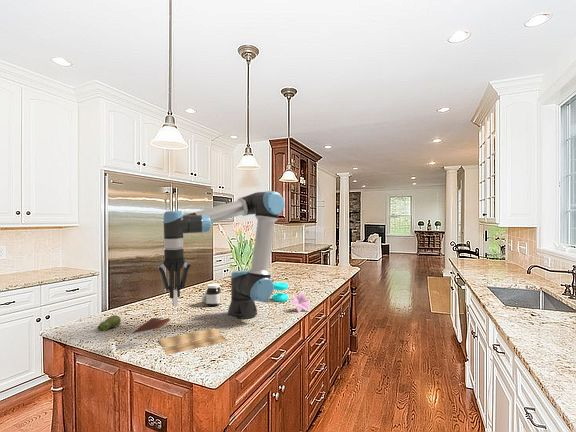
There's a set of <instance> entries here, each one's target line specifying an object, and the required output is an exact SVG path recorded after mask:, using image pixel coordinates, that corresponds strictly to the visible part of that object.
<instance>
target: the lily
mask: <svg viewBox="0 0 576 432" xmlns="http://www.w3.org/2000/svg"><path fill="white" fill-rule="evenodd" d="M292 296H293V298H294V299H292V300H291V301H290V303H289V304H290V305H291V306H296V309H297V312H298V313H299V314H300V312H301V311H302V310H305V311H307V312H311V309H310V306H309V305H308V304H309V303H310V302H311V299H308V298H306V294H305V291H304V290H301V292H300V293H299V294H296V293H294V292H293V293H292Z"/></svg>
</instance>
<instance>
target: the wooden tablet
mask: <svg viewBox="0 0 576 432" xmlns="http://www.w3.org/2000/svg"><path fill="white" fill-rule="evenodd" d="M170 320H171V319H170V317H169V318H163V319H161V318H159V317H153V318H150V319H149V320H147V321H146V322H144V323H143V324H141V325H140V326H139V327H138V328H136V329H135V330H134V331H133V332H132V334H134V333H135V334H136V333H139V332H140V333H141V332H146V331H151V330H157V329H160V328H162V327H163V326H164V325H166V324H167V323H168V322H169V321H170Z"/></svg>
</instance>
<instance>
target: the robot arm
mask: <svg viewBox="0 0 576 432" xmlns="http://www.w3.org/2000/svg"><path fill="white" fill-rule="evenodd" d="M284 209H285V200H284V197H283V196H282V194H281V193H279V191H278V192H277V191H274V190H273V191H272V190H267V191H257V192H253V193H251V194H248V195H246V196H242V197H239V198H237V200H235V201H232V202H227V203H224V204H220V205H216V206H213V207H209V208H205V209H201V210H198V211H194V212H191V213H186V214H184V212H183V211H182V210H166V211H165V212H164V213H163V222H162V223H163V248H164V250H163V251H164V252H163V257H164V260H163V262H162V264H161V265H160V266H159V265H158V267H157V270H158V271H159V273H160V277H161V279H162V283H163V287H164V289H165V290H167V291H169V298H170V299H171V301H172V302H171V303H172V304H171V305H172V306H173V307H179V306H178V303H179V301H178V299H179V298H180V297H181V289H183V288H185V285H186V280H187V276H188V273H189V272H188V271H189V269H190V268H191V264H190V263H188V262H186V261H185V258H184V255H185V253H184V234H197V233H198V234H200V233H201V234H203V233H208V232H209V231H210V230H211V228H212V224H215V223H219V222H222V221H225V220H228V219H232V218H235V217H239V216H243V217H245V216H246V217H247V216H248V215H249V216H251V215H255V216H254V217H255V218H256V219H257V224H256V231H255V238H254V243H253V244H254V246H253V253H252V260H251V266H250V267H251V268H249V269H245V270H243V269H242V270H235V271H233V272H232V273H231V276H230V282H231V283H230V288H231V289H230V291H231V293H230V296H231V297H230V304H229V306H228V310H227V316H230V317H234V318H237V320H245V319H246V320H247V319H251V318H255V317H256V316H257V315H258V309H257V306H256V303H255V302H265V301H267V300H268V299H269V298H271V297H272V296H273V293H274V290H275V289H274V282H273V280H272V279H271V277H272V273H271V272H270V271H269V268H270V260H271V256H272V255H271V253H272V247H273V239H274V230H275V223H276V222H277V221H278V220H279V215H281V214H282V212H284ZM182 268H183V269H182ZM181 269H182V275H181ZM165 270H167V271H168V280H167V275H166V272H165ZM174 275H175V276H174ZM174 277H175V278H174ZM174 279H175V281H174ZM174 282H175V283H174ZM174 285H175V286H174ZM174 287H175V288H174Z"/></svg>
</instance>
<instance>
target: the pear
mask: <svg viewBox="0 0 576 432" xmlns="http://www.w3.org/2000/svg"><path fill="white" fill-rule="evenodd" d="M121 321H122V319H121V317H120V316H118V315H115V314H114V315H111V316H109V317H108V318H106V319H105V320H104V321H101V322H100V323H99V325H97V329H98V331H100V332H107V331H108V330H109V329H110V328H117V327H119V326H120V324H121Z"/></svg>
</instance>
